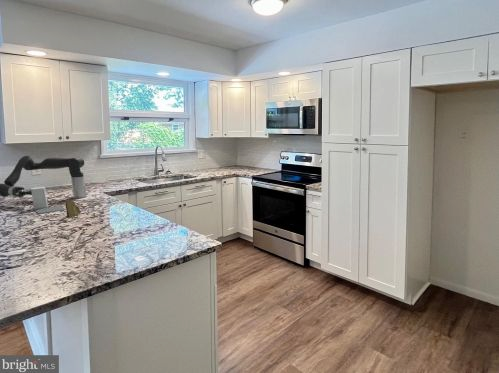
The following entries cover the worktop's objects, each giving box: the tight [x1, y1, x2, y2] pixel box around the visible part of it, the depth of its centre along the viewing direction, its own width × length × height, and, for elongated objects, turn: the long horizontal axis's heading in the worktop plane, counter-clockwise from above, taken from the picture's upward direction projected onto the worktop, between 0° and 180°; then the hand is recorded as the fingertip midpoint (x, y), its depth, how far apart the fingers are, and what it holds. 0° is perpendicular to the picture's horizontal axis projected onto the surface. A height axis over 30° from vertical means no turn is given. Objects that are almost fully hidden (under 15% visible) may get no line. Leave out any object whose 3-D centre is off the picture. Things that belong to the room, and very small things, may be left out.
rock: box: [64, 200, 81, 218], centre depth 220 cm, size 11×9×10 cm
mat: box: [34, 205, 66, 215], centre depth 235 cm, size 16×15×1 cm
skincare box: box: [30, 186, 49, 210], centre depth 241 cm, size 8×6×15 cm
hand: (32, 193), depth 243 cm, fingers closed
